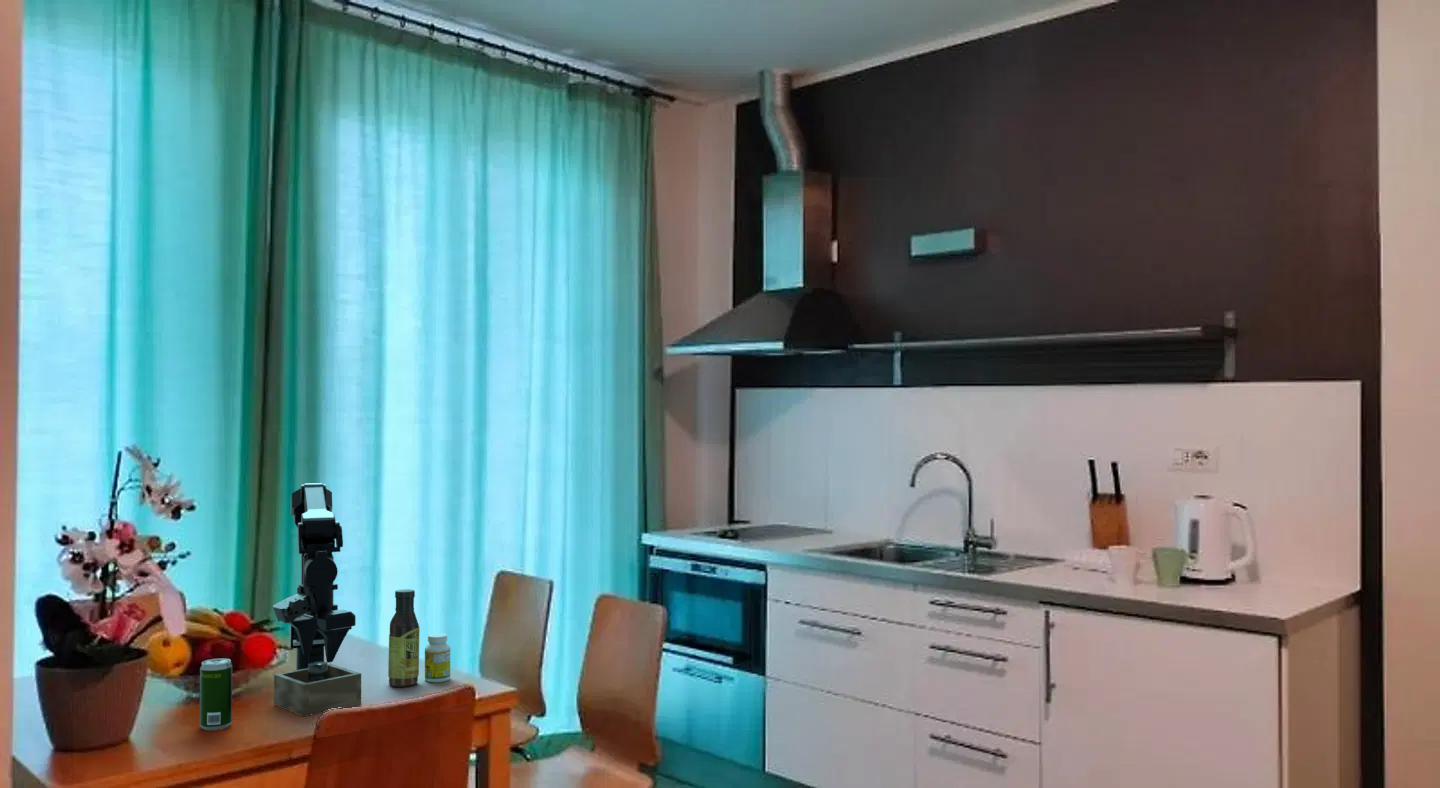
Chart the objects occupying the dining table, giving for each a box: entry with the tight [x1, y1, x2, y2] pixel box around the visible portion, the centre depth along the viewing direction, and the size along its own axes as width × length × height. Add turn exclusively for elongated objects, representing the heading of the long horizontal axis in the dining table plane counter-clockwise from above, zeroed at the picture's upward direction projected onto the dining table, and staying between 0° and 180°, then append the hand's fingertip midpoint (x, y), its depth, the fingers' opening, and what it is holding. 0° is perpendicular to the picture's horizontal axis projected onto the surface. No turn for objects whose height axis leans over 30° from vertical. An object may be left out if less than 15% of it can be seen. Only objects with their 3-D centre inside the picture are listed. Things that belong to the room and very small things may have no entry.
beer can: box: [199, 658, 233, 731], centre depth 203 cm, size 5×5×12 cm
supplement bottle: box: [424, 633, 451, 683], centre depth 238 cm, size 5×5×10 cm
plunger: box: [308, 661, 329, 682], centre depth 218 cm, size 9×9×7 cm
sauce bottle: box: [387, 588, 420, 688], centre depth 234 cm, size 6×6×20 cm
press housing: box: [273, 663, 362, 717], centre depth 218 cm, size 12×12×6 cm
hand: (318, 658), depth 218 cm, fingers open, 9 cm apart
